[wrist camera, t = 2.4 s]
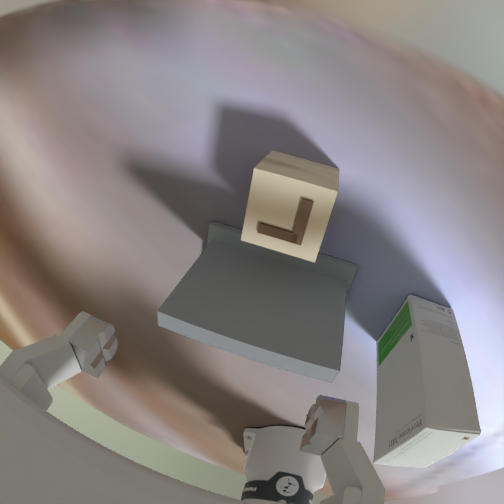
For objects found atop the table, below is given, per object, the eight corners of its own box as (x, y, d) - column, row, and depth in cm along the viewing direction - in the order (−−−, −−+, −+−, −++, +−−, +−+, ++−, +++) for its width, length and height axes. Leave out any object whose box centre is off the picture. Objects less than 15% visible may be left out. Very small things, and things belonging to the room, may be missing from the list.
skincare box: (409, 290, 30) (427, 424, 17) (456, 308, 29) (486, 432, 16) (373, 343, 34) (368, 465, 21) (418, 357, 34) (425, 472, 21)
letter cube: (321, 228, 29) (314, 263, 24) (259, 210, 30) (239, 241, 25) (339, 168, 26) (337, 192, 21) (272, 150, 27) (253, 168, 21)
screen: (340, 302, 32) (330, 395, 23) (207, 261, 35) (153, 336, 25) (357, 264, 30) (355, 358, 20) (212, 221, 32) (150, 292, 22)
